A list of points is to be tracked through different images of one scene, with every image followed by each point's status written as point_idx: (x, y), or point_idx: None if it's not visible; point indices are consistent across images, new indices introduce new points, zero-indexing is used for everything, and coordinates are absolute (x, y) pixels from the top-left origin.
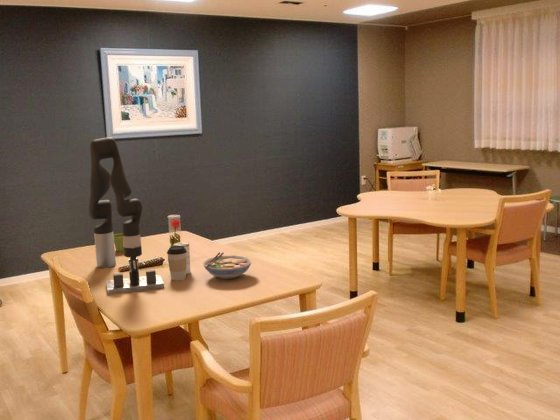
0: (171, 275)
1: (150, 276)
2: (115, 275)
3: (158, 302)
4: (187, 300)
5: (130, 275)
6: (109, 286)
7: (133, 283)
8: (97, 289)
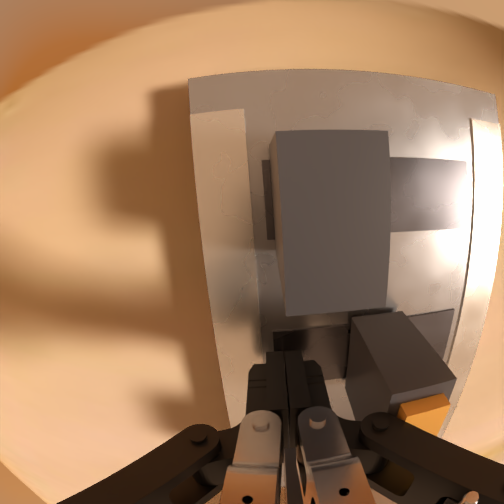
0: (377, 497)
1: (285, 487)
2: (277, 176)
3: (28, 402)
4: (65, 473)
5: (374, 370)
6: (324, 95)
7: (266, 356)
8: (386, 16)
